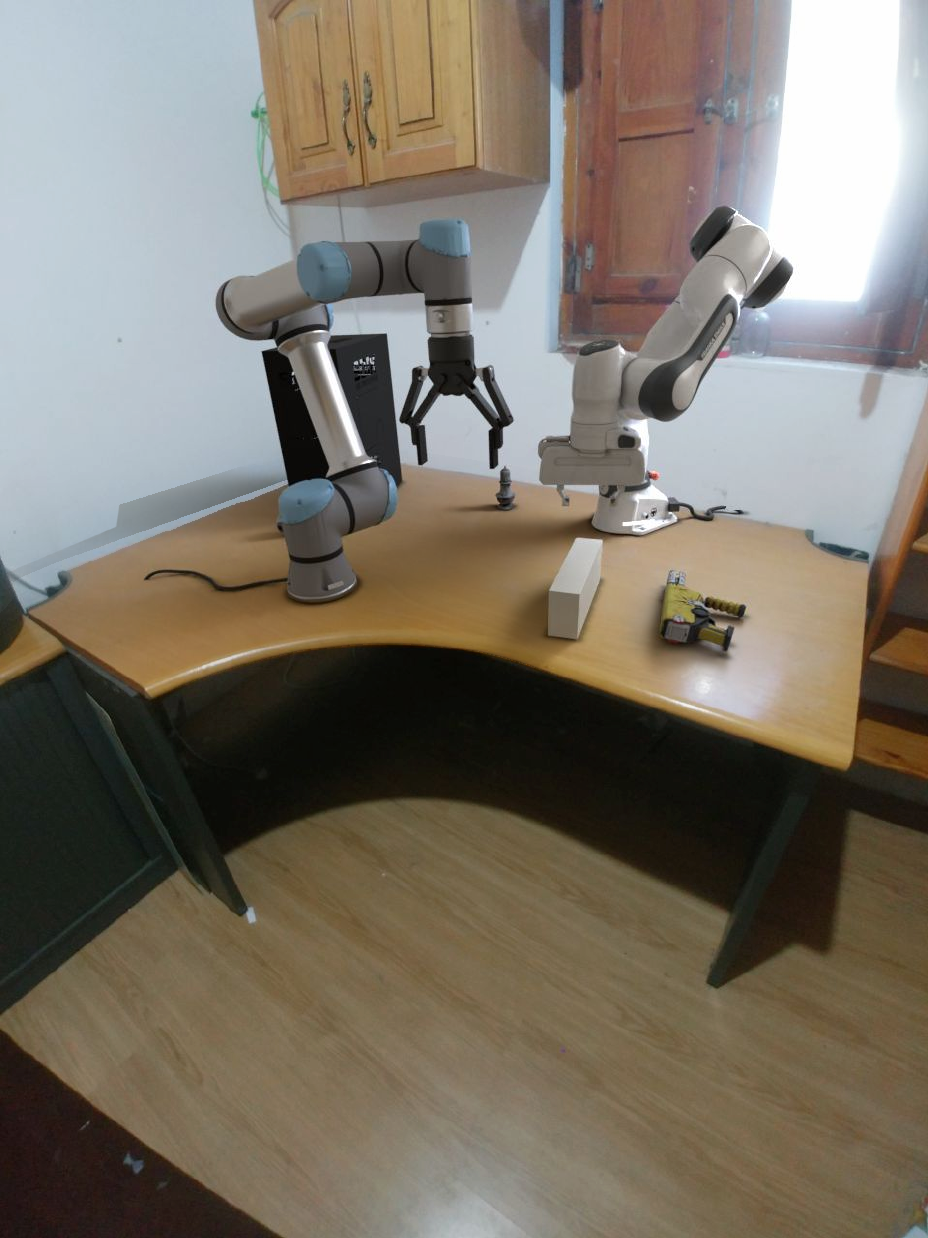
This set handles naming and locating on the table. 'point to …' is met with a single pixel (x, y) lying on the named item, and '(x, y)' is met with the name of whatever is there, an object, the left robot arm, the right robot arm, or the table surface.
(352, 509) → the left robot arm
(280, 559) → the table surface
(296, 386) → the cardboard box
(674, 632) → the toy gun
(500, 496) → the grey chess piece
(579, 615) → the bar
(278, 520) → the eyeball
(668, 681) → the table surface
